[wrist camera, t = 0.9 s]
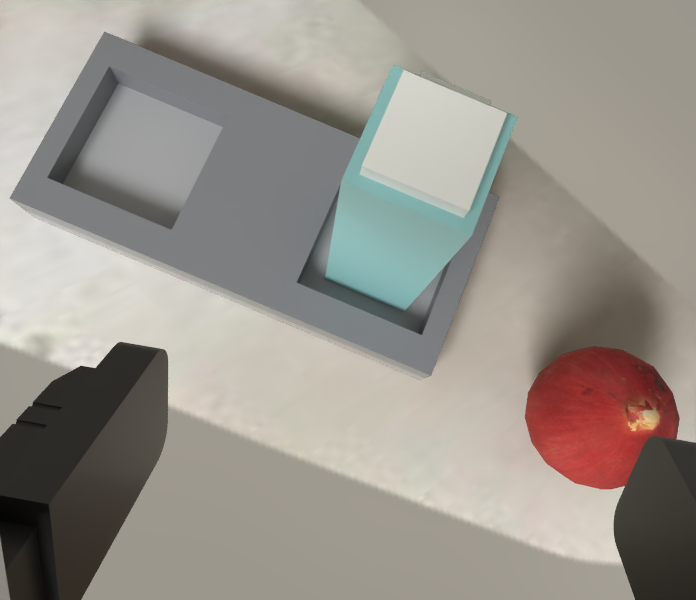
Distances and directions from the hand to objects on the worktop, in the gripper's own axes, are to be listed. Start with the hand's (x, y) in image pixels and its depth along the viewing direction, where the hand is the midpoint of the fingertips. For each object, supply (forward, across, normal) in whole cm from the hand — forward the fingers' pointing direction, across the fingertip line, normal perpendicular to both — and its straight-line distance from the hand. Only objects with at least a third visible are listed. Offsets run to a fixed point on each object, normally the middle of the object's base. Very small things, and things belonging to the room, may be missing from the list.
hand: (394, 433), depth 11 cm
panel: (+21, +6, +4) cm, 22 cm away
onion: (+17, -9, +11) cm, 22 cm away
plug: (+19, +1, +5) cm, 20 cm away
